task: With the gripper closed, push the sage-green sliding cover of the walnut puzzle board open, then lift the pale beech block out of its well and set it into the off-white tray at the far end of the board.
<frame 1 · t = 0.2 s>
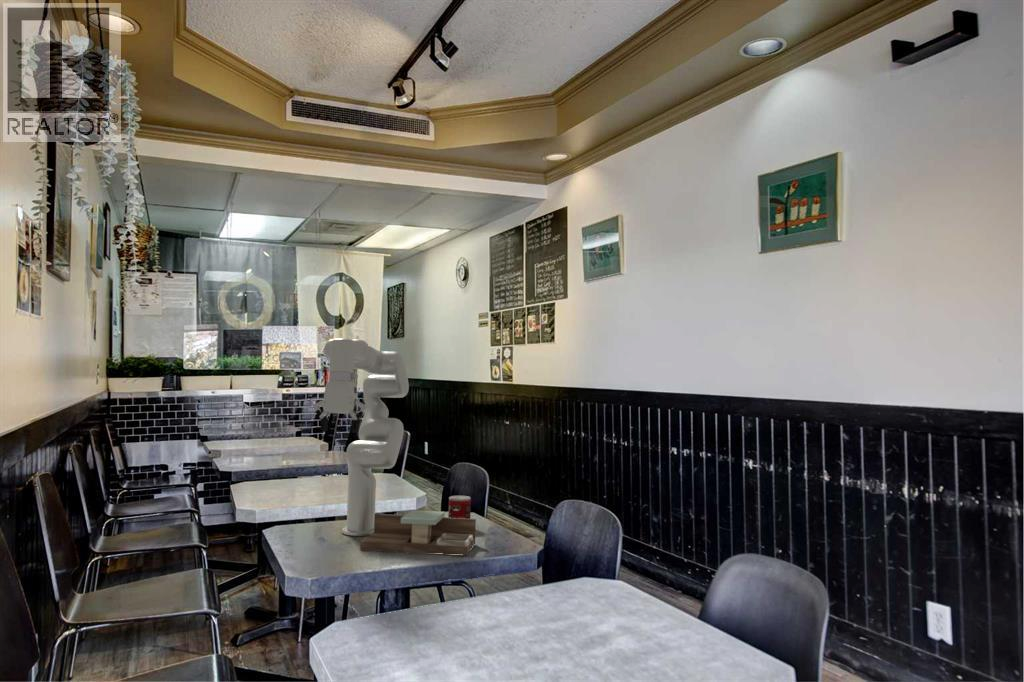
hand: (339, 431, 206), 37 cm above the table, tool pointing down, fingers open, 9 cm apart
beech block: (421, 548, 209), resting in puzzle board
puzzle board: (418, 547, 209), on the table
canned food: (459, 528, 237), on the table
sliding cover: (423, 517, 211), point 9 cm above the table, slide at 0.0 cm
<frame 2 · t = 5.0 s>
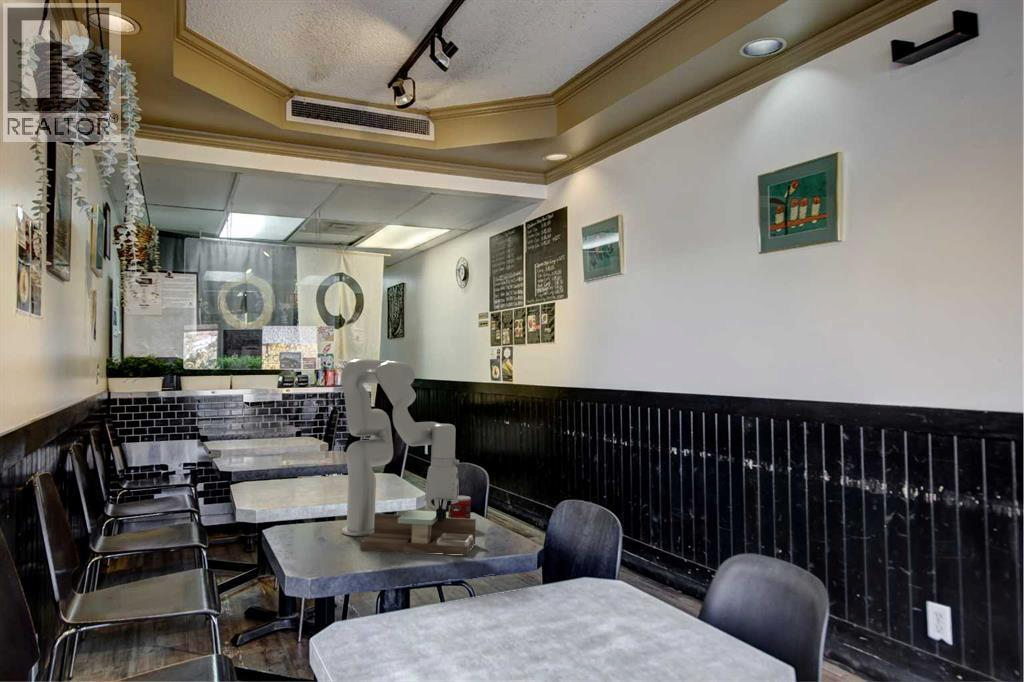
hand: (440, 520, 208), 9 cm above the table, tool pointing down, fingers closed
sliding cover: (420, 517, 211), point 9 cm above the table, slide at 1.0 cm, touching gripper
everything else where it was.
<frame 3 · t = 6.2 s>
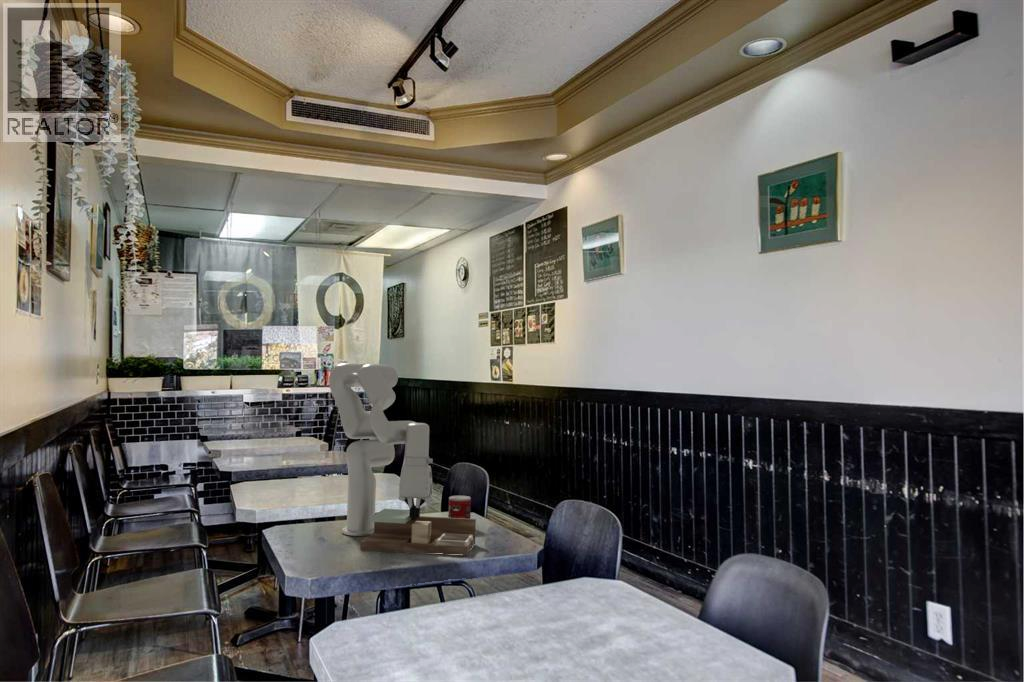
hand: (414, 519, 209), 9 cm above the table, tool pointing down, fingers closed
sliding cover: (394, 515, 212), point 9 cm above the table, slide at 9.6 cm, touching gripper
everything else where it was.
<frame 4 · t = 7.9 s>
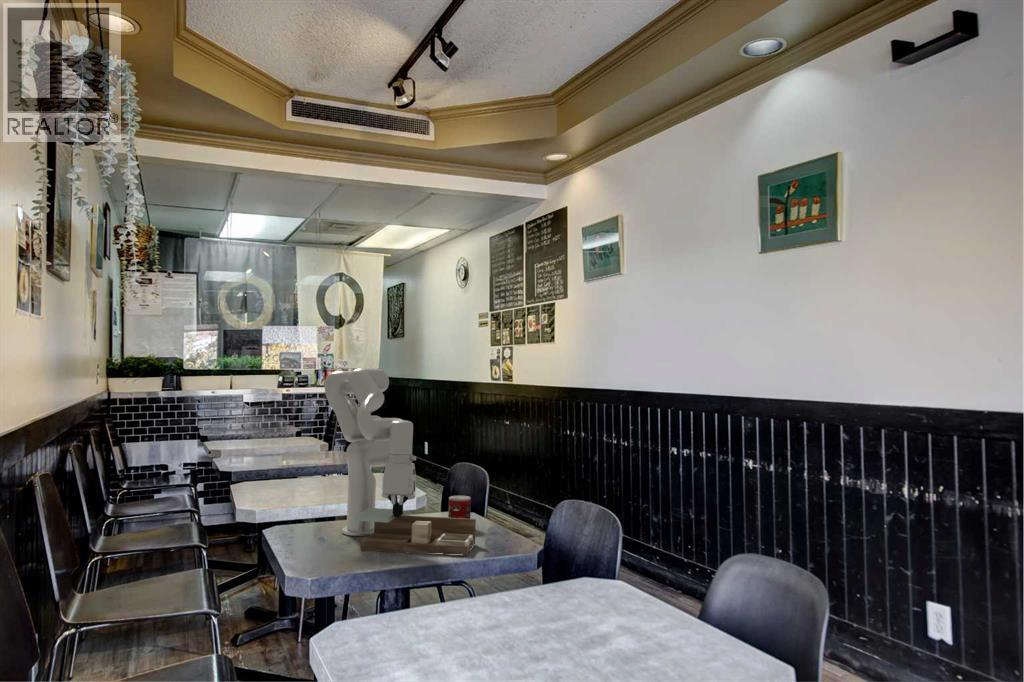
hand: (397, 516, 210), 9 cm above the table, tool pointing down, fingers closed
sliding cover: (378, 515, 212), point 9 cm above the table, slide at 15.0 cm
everything else where it was.
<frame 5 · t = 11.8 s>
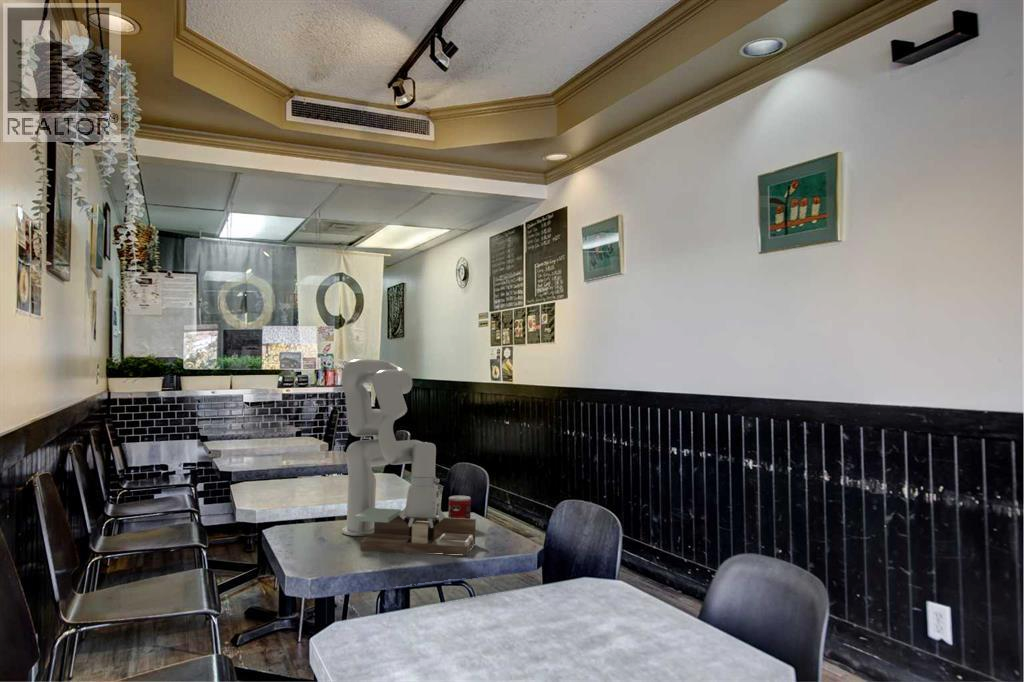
hand: (421, 538, 209), 3 cm above the table, tool pointing down, fingers closed on beech block, 5 cm apart
beech block: (421, 548, 208), resting in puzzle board, touching gripper
everything else where it was.
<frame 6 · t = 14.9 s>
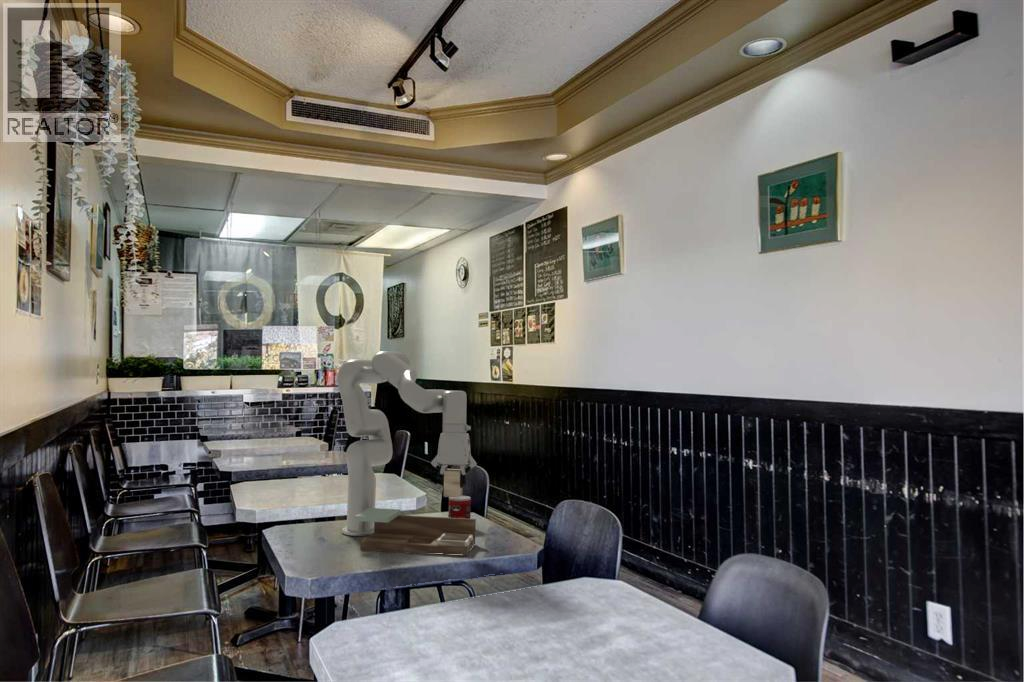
hand: (453, 486, 208), 20 cm above the table, tool pointing down, fingers closed on beech block, 5 cm apart
beech block: (453, 495, 208), point 17 cm above the table, touching gripper
everything else where it was.
when the fingers open (6 cm above the table, at t = 17.9 s): beech block stays where it is, resting on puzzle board.
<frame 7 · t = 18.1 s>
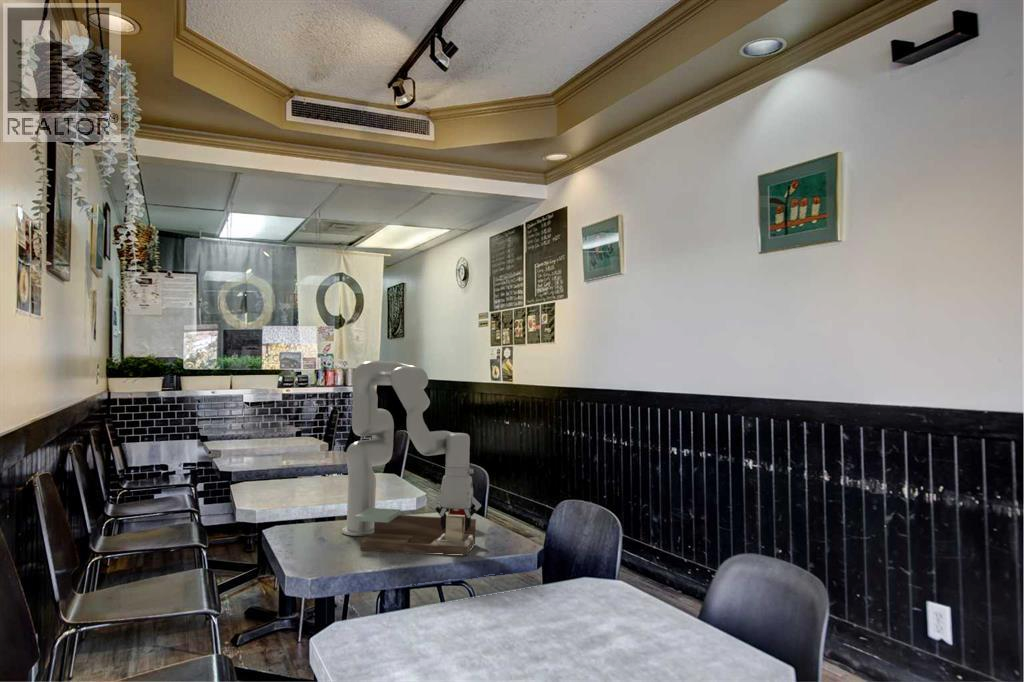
hand: (455, 528, 207), 7 cm above the table, tool pointing down, fingers open, 6 cm apart
beech block: (454, 542, 207), point 2 cm above the table, touching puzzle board
everything else where it was.
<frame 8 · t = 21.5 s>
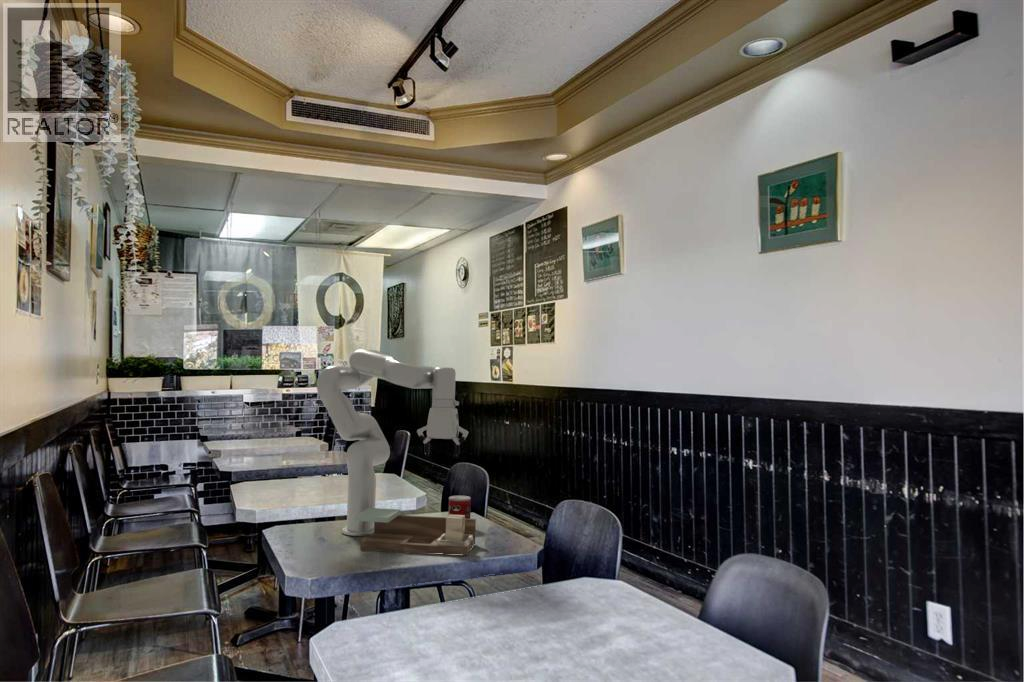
hand: (441, 456, 217), 28 cm above the table, tool pointing down, fingers open, 9 cm apart
nothing on the table moved.
at the end: sliding cover slide at 15.0 cm; beech block 0.1 cm from the target spot on the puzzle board, point 2.5 cm above the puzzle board's base; beech block tilted 0° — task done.
